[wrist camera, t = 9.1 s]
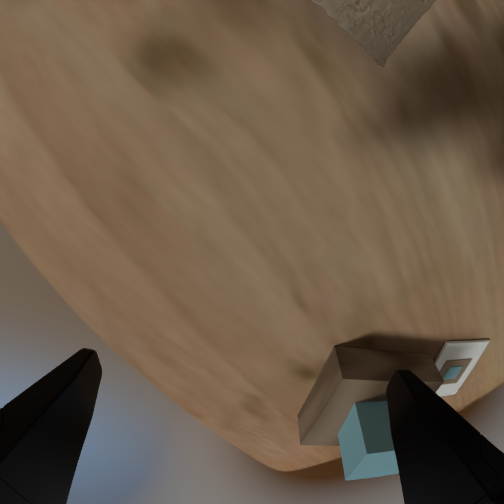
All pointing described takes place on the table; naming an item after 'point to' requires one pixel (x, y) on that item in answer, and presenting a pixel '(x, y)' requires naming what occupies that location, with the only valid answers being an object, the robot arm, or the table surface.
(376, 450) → the teal cube
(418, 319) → the table surface
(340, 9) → the clay tablet
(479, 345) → the card
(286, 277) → the table surface
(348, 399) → the walnut block
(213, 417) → the table surface
